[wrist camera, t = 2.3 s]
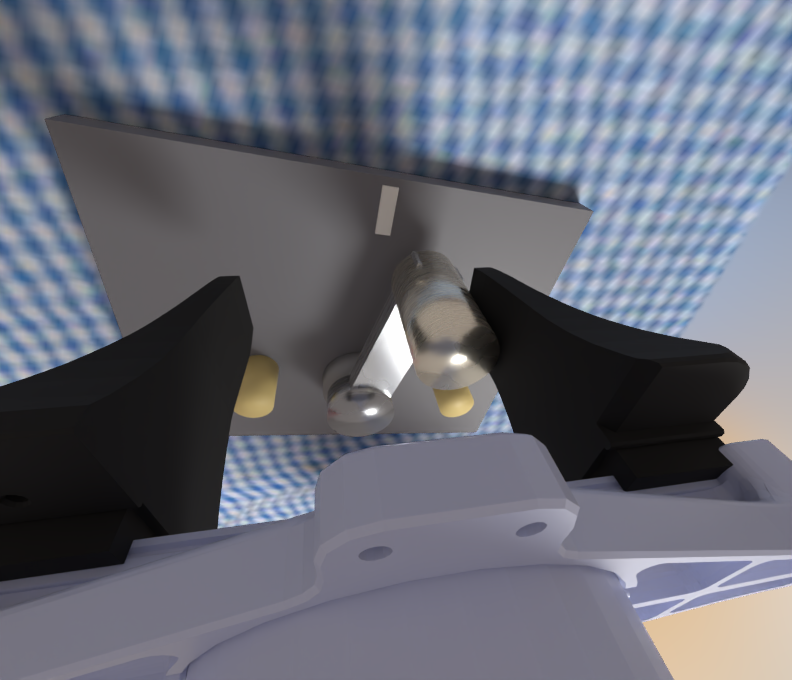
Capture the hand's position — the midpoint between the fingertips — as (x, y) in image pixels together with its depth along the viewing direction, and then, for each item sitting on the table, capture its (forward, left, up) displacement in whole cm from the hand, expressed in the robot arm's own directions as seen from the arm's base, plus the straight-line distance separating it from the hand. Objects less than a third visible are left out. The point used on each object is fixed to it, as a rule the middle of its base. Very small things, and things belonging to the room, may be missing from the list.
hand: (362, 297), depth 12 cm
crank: (-4, -2, -2) cm, 4 cm away
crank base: (-4, 0, -4) cm, 6 cm away
